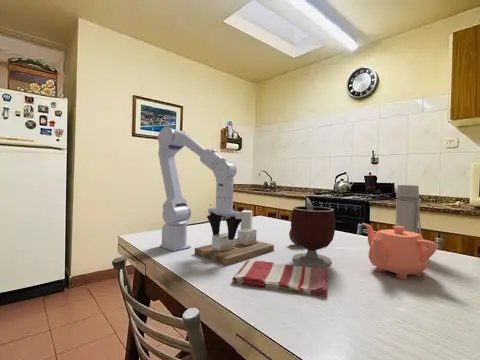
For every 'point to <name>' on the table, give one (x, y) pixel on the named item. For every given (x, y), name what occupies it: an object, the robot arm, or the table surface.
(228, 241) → the block
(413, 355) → the table surface
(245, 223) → the skincare box
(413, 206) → the water bottle
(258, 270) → the dish towel
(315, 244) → the mate gourd
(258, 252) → the board
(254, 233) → the block
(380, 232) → the teapot
